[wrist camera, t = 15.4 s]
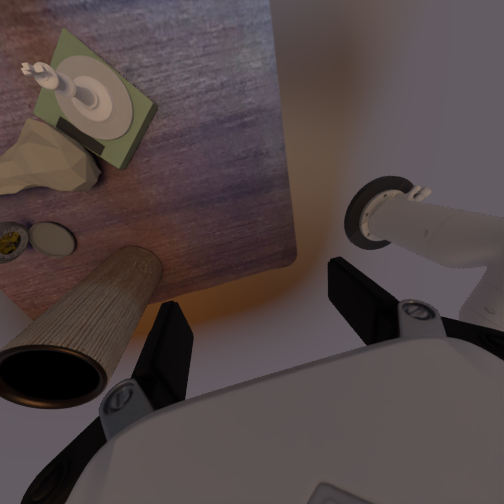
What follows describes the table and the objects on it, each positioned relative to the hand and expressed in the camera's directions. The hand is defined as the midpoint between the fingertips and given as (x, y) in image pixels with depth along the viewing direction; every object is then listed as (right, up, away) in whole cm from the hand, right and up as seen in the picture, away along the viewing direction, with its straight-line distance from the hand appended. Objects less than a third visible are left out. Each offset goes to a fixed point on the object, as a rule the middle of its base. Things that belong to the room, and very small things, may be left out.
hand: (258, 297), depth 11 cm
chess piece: (-21, +23, +14) cm, 34 cm away
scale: (-22, +24, +16) cm, 36 cm away
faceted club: (-36, +15, +18) cm, 43 cm away
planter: (-24, 0, +28) cm, 37 cm away
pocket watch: (-37, +6, +22) cm, 44 cm away
